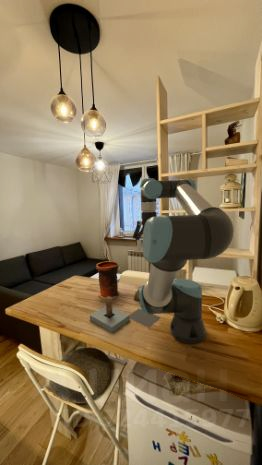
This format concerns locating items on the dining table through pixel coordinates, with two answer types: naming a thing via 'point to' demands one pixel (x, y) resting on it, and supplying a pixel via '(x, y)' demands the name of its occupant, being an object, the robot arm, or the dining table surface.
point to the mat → (144, 318)
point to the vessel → (108, 279)
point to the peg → (109, 307)
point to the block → (110, 319)
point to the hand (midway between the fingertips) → (150, 253)
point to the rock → (137, 295)
